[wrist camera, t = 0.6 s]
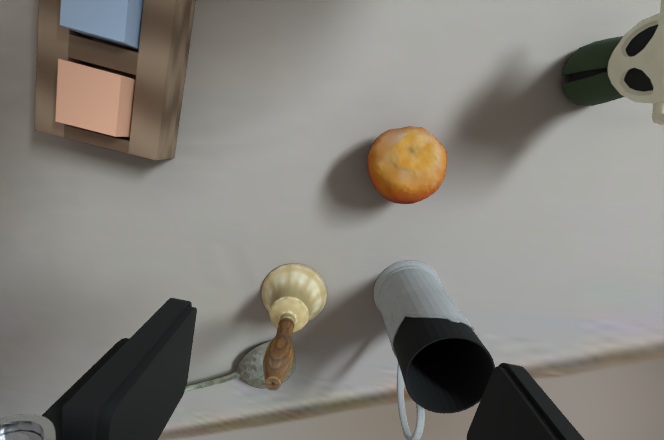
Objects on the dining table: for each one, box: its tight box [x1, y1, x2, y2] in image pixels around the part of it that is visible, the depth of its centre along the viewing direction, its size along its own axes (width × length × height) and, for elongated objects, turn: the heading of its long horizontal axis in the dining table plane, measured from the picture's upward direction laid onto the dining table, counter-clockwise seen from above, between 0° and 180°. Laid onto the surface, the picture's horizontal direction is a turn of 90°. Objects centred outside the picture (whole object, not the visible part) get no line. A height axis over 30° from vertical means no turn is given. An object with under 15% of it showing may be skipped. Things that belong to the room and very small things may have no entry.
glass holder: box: [374, 260, 495, 440], centre depth 35 cm, size 9×14×15 cm, turn 166°
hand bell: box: [262, 264, 327, 390], centre depth 34 cm, size 8×8×16 cm
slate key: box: [60, 0, 144, 50], centre depth 30 cm, size 6×6×3 cm
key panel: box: [35, 0, 196, 160], centre depth 32 cm, size 26×12×4 cm, turn 166°
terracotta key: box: [55, 59, 136, 137], centre depth 32 cm, size 6×6×3 cm
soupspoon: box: [184, 341, 296, 392], centre depth 43 cm, size 22×3×7 cm
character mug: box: [562, 0, 664, 125], centre depth 29 cm, size 11×7×13 cm, turn 9°
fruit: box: [367, 126, 447, 204], centre depth 35 cm, size 8×8×8 cm
